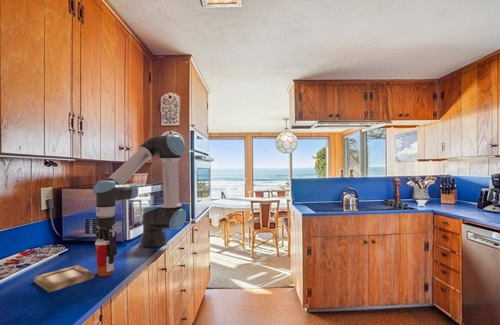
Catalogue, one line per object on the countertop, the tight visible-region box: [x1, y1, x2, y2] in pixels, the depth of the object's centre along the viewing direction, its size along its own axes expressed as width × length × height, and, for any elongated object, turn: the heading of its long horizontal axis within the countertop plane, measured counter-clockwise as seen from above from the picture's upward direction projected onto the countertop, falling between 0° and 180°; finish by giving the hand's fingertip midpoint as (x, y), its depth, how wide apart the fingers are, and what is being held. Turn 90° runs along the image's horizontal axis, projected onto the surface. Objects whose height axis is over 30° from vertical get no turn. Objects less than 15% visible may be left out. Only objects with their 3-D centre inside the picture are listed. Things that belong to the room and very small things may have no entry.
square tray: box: [33, 264, 95, 293], centre depth 111 cm, size 16×16×2 cm
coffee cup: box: [94, 238, 115, 277], centre depth 117 cm, size 8×8×15 cm
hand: (105, 268), depth 117 cm, fingers closed on coffee cup, 7 cm apart
